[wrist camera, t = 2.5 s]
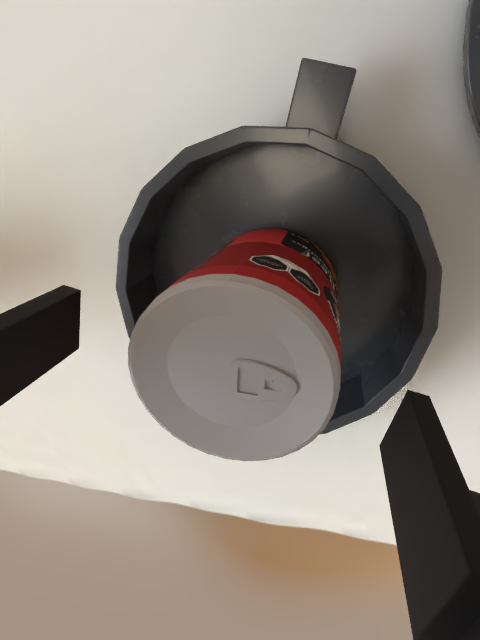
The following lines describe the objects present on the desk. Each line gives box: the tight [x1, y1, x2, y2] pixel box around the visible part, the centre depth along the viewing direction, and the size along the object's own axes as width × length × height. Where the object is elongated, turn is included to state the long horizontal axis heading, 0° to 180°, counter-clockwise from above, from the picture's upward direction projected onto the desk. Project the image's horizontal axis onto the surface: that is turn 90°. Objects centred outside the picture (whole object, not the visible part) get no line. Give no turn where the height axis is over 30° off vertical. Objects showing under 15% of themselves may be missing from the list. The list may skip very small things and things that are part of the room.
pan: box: [116, 58, 442, 434], centre depth 22 cm, size 17×23×4 cm
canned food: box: [128, 228, 341, 461], centre depth 18 cm, size 8×8×11 cm
